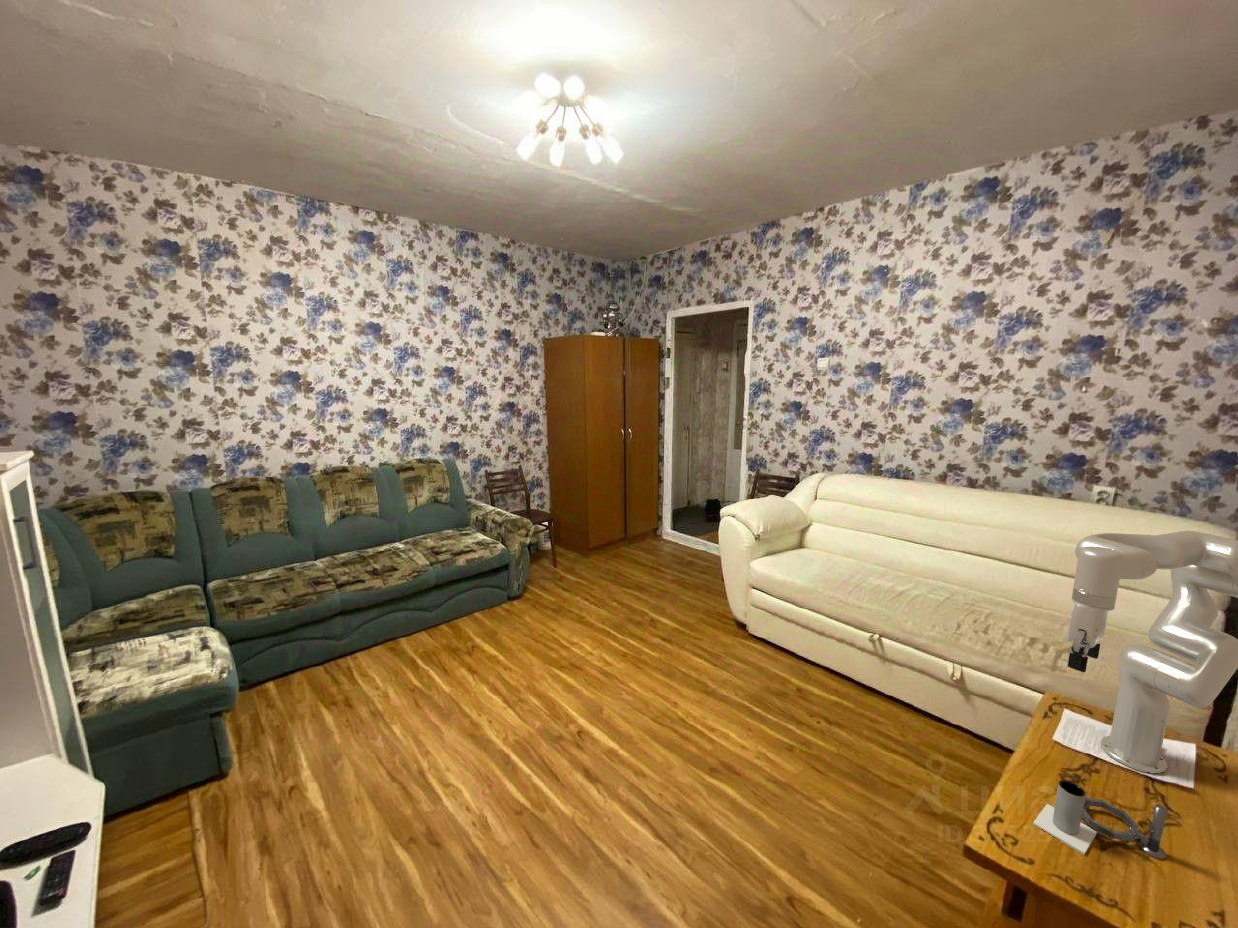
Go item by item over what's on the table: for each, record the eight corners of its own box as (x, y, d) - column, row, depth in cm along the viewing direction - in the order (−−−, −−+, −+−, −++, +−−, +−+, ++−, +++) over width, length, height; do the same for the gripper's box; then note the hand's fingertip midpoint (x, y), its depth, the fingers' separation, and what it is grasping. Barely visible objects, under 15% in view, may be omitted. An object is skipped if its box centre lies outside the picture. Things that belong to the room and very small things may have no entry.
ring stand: (1084, 800, 121) (1091, 761, 119) (1170, 845, 109) (1179, 803, 107) (1071, 820, 116) (1078, 779, 114) (1160, 870, 104) (1169, 826, 102)
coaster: (1046, 805, 120) (1047, 803, 120) (1096, 833, 112) (1097, 831, 112) (1032, 824, 115) (1033, 822, 115) (1084, 855, 107) (1084, 852, 107)
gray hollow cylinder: (1083, 836, 111) (1090, 797, 109) (1060, 833, 112) (1067, 794, 110) (1070, 819, 115) (1076, 781, 113) (1047, 816, 116) (1053, 778, 114)
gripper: (1084, 583, 126) (1074, 644, 129) (1060, 601, 117) (1051, 667, 120) (1125, 594, 120) (1113, 657, 123) (1104, 614, 110) (1092, 682, 114)
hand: (1082, 662), depth 121 cm, fingers open, 9 cm apart
